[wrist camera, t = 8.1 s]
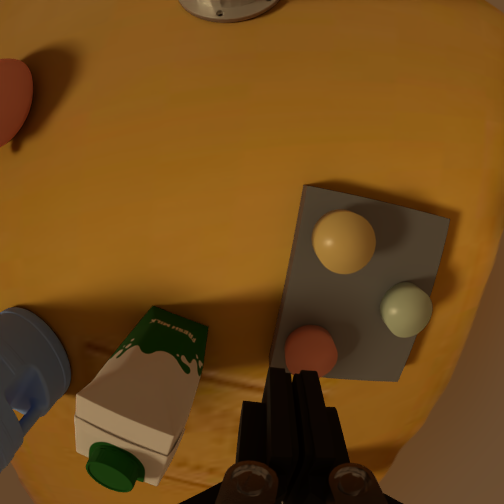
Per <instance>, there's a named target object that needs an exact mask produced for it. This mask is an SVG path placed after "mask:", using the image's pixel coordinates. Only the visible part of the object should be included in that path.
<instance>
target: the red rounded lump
mask: <svg viewBox="0 0 504 504" xmlns="http://www.w3.org/2000/svg"><path fill="white" fill-rule="evenodd" d="M284 350H285V360H286V366H287V368H288V370H289V371H290V372H291V373H292V374H293V375H294V374H295V373H297V374H299V373H300V371H301V370H311V371H317V373H318V377H319V378H320V377H322V376H324V375H326V374H327V373H329V372H330V371H331V370H332V369H333V367H334V366H335V364H336V362H337V357H338V353H337V349H336V346H335V344H334V341H333V339H332V336H331V334H330V333H329V332H328V331H327V330H326V329H325V328H323V327H321V326H317V325H305V326H302V327H299V328H297V329H295V330H294V331H293V332H292V333H291V334H290V335H289V336H288V337H287V339H286V342H285V346H284Z"/></svg>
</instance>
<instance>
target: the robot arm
mask: <svg viewBox="0 0 504 504" xmlns="http://www.w3.org/2000/svg"><path fill="white" fill-rule="evenodd" d="M278 1H279V0H179V2H180V4H181V5H182V6H183V7H184V8H185V10H186V11H188V12H189V13H191V14H192V15H194V16H196V17H198V18H201V19H203V20H207V21H211V22H221V23H225V22H238V21H244V20H247V19H251V18H254V17H256V16H259V15H261V14H263V13H265V12H266V11H268V10H269V9H271V8H272V7H273V6H274V5H275V4H276V3H277V2H278ZM220 15H222V16H220ZM282 501H283V504H403V503H401V502H398V501H397V500H395V499H393V498H391V497H390V496H388V495H386V494H384V493H383V492H382V490H381V488H380V486H379V484H378V482H377V480H376V478H375V476H374V474H373V473H372V472H371V471H370V470H369V469H368V468H366V467H365V466H362V465H360V464H356V463H350V461H349V457H348V452H347V448H346V444H345V440H344V436H343V433H342V429H341V425H340V421H339V417H338V413H337V410H336V408H335V407H325V403H324V398H323V394H322V390H321V385H320V381H319V377H318V373H317V371H311V370H301V371H300V373H299V374H297V373H295V374H294V377H293V380H291V373H286V372H285V368H275V367H269V369H268V373H267V378H266V383H265V388H264V393H263V398H262V403H260V402H250V401H243V404H242V410H241V417H240V424H239V432H238V442H237V453H236V463H235V464H233V465H232V466H231V467H230V468H228V470H227V471H226V473H225V475H224V478H223V481H222V482H220V483H218V484H217V485H215V486H213V487H211V488H209V489H207V490H205V491H203V492H201V493H199V494H197V495H195V496H193V497H191V498H189V499H187V500H185V501H183V502H181V503H179V504H282Z"/></svg>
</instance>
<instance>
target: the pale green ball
mask: <svg viewBox="0 0 504 504" xmlns="http://www.w3.org/2000/svg"><path fill="white" fill-rule="evenodd" d="M380 315H381V318H382V320H383V321H384V323H385V324H386V325H387V327H388V328H389V329H390V331H391V332H392V333H393V334H394V335H396V336H398V337H402V338H406V337H411V336H414V335H416V334H418V333H419V332H420V331H422V330H423V329H424V328H425V326H426V325H427V324H428V322H429V320H430V318H431V315H432V302H431V299H430V297H429V296H428V295H427V294H426V293H425V292H424V291H422V290H421V289H420V288H419V287H417V286H416V285H415V284H412V283H409V282H403V283H399V284H396V285H394V286H393V287H391V288H390V289H389V290H388V291H387V292H386V293H385V295H384V297H383V298H382V301H381V304H380Z"/></svg>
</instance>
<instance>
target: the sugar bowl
mask: <svg viewBox="0 0 504 504" xmlns="http://www.w3.org/2000/svg"><path fill="white" fill-rule="evenodd" d="M32 98H33V80H32V75H31V72H30V70H29V68H28V67H27V65H26V64H25V63H24V62H22V61H20V60H16V59H0V147H1V146H3V145H5V144H6V143H8V142H9V141H10V140H11V139H12V138H13V137H14V136H15V135H16V134H17V132H18V131H19V130H20V128H21V127H22V125H23V124H24V122H25V120H26V118H27V116H28V113H29V111H30V107H31V103H32Z"/></svg>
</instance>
